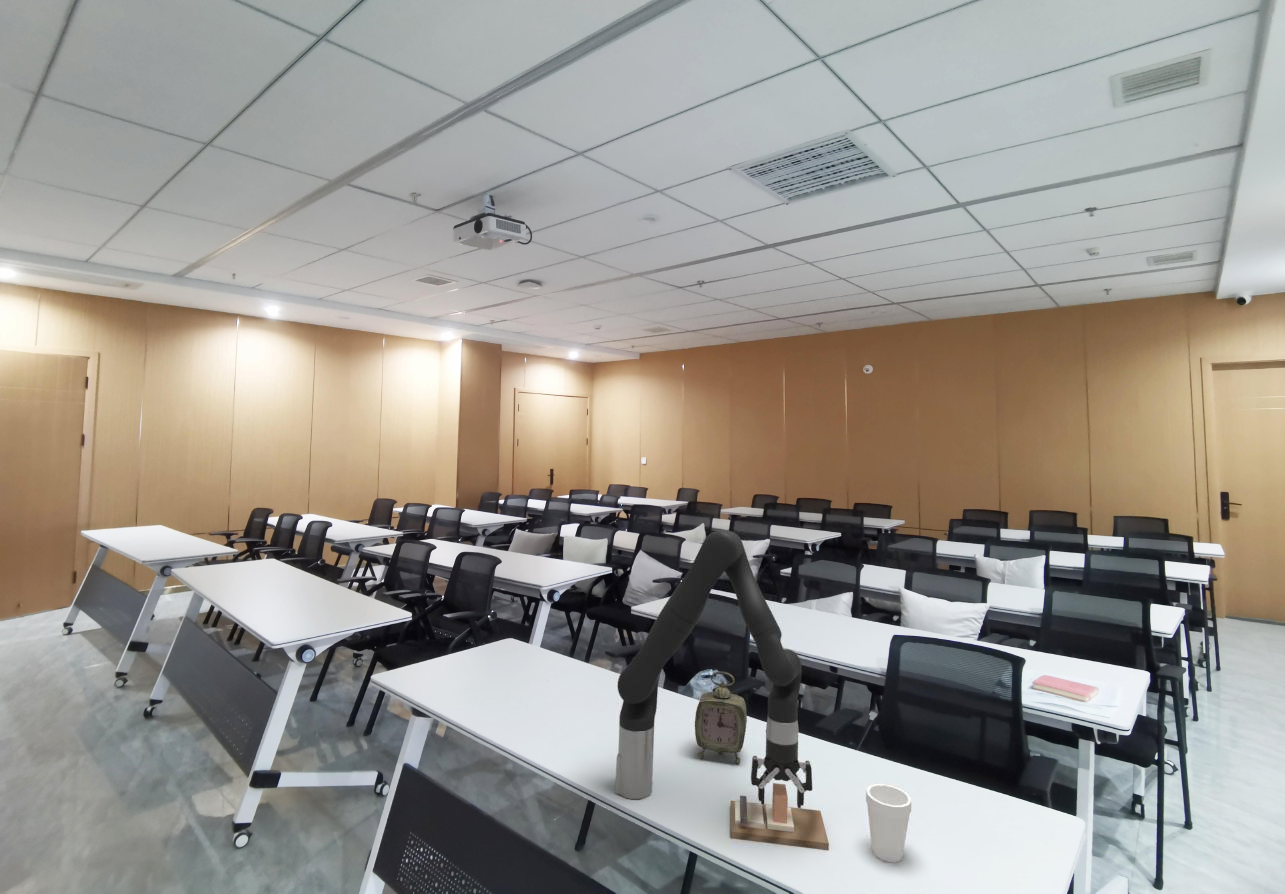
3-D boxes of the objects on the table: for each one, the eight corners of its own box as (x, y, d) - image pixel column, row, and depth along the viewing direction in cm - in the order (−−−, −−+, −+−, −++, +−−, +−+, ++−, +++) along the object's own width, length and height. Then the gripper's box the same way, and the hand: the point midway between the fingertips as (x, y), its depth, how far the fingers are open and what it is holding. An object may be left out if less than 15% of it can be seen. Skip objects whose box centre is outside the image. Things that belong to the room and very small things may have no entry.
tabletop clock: (693, 759, 177) (696, 673, 177) (698, 745, 186) (700, 663, 186) (743, 767, 174) (746, 679, 174) (746, 752, 182) (748, 669, 183)
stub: (767, 828, 142) (768, 797, 142) (765, 809, 150) (766, 780, 150) (793, 831, 142) (794, 800, 142) (790, 812, 149) (791, 782, 150)
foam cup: (898, 840, 142) (899, 784, 143) (917, 866, 133) (919, 807, 133) (858, 839, 142) (859, 783, 142) (874, 866, 133) (876, 806, 133)
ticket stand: (730, 837, 141) (731, 821, 141) (730, 806, 154) (731, 791, 154) (828, 849, 138) (829, 832, 138) (820, 816, 151) (820, 801, 151)
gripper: (752, 740, 144) (751, 809, 143) (814, 745, 142) (813, 816, 141) (751, 726, 151) (750, 792, 151) (810, 731, 149) (809, 798, 149)
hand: (780, 804), depth 146 cm, fingers open, 8 cm apart
